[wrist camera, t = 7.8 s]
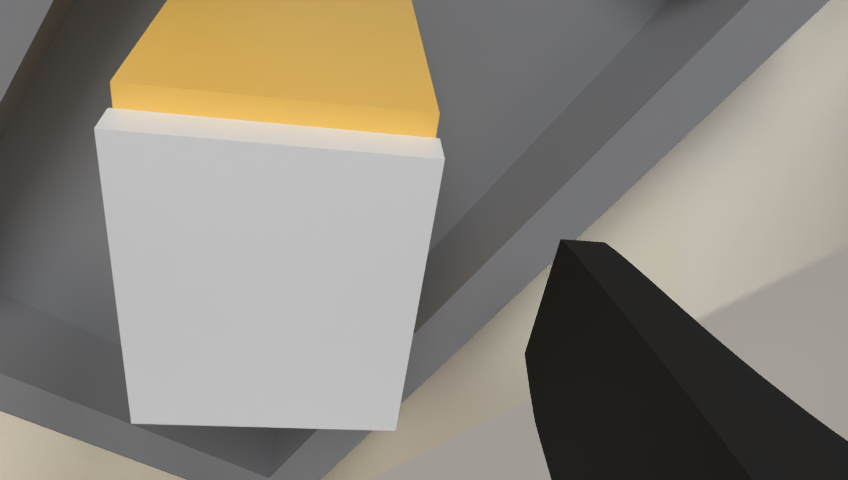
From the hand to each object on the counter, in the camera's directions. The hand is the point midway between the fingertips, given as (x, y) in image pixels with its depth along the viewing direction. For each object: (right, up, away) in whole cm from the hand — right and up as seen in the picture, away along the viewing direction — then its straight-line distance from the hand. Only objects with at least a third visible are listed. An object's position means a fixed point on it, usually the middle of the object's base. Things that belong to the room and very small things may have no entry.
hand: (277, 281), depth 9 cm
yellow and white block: (0, +3, +4) cm, 5 cm away
